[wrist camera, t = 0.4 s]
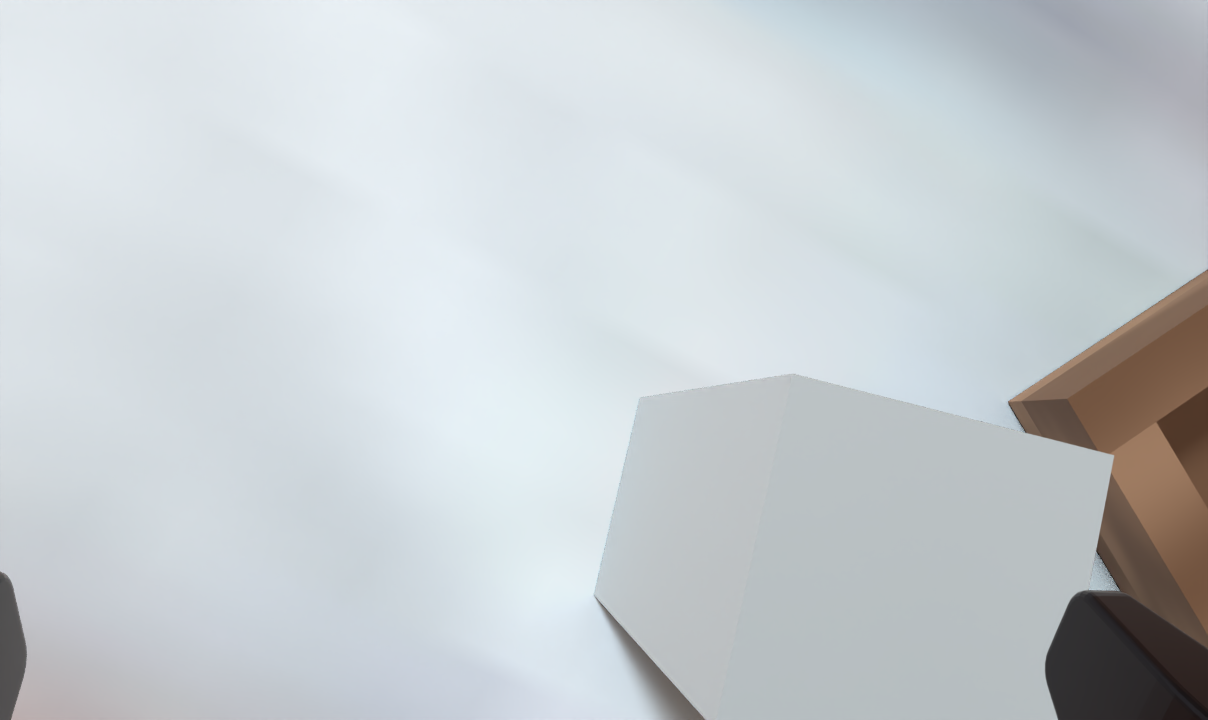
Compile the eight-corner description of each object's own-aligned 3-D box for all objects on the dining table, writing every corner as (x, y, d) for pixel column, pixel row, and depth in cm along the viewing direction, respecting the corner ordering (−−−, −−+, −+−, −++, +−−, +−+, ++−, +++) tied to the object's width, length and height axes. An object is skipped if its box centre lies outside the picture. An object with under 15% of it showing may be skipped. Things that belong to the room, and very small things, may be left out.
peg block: (785, 637, 25) (1048, 799, 14) (593, 595, 24) (713, 729, 13) (826, 443, 25) (1114, 454, 14) (639, 397, 25) (792, 374, 14)
